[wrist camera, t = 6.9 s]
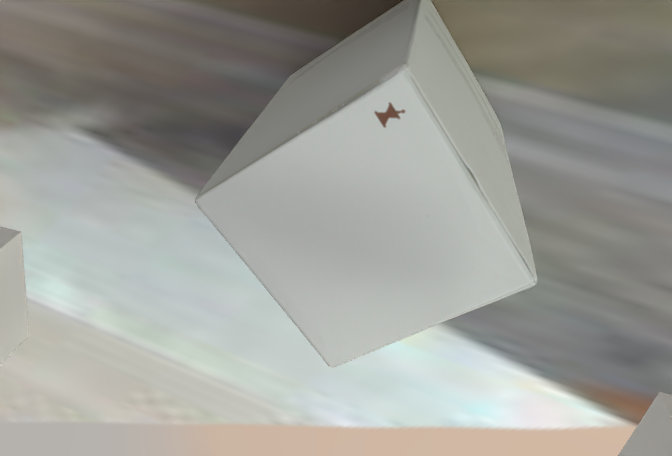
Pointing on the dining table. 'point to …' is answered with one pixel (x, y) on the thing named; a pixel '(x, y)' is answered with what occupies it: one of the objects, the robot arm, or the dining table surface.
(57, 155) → the dining table surface
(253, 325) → the dining table surface
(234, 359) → the dining table surface
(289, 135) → the supplement box
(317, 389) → the dining table surface
